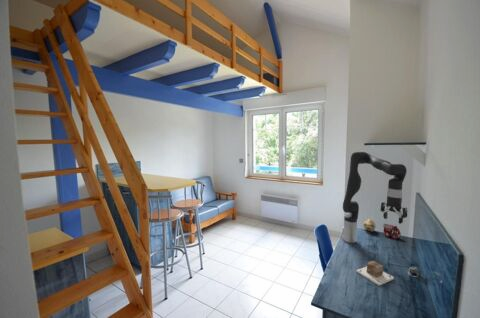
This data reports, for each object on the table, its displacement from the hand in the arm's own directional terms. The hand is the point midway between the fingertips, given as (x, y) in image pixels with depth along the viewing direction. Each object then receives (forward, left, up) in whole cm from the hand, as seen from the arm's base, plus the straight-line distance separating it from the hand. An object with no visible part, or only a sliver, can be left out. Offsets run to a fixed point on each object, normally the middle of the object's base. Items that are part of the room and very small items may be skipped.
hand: (392, 221), depth 133 cm
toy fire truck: (-28, +52, -32) cm, 67 cm away
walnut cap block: (0, -15, -31) cm, 34 cm away
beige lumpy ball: (-44, +46, -32) cm, 71 cm away
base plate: (0, -15, -32) cm, 35 cm away
